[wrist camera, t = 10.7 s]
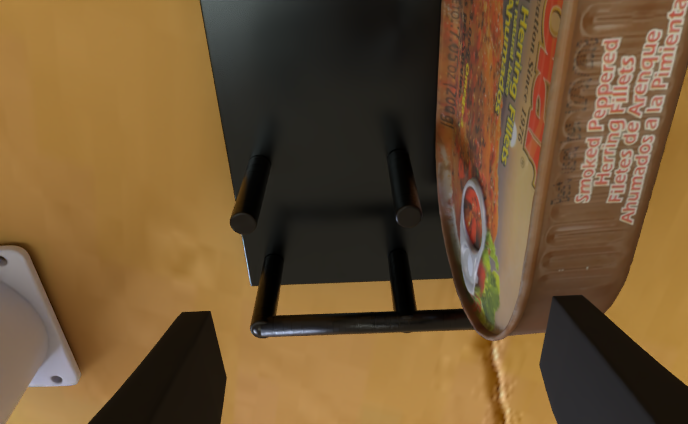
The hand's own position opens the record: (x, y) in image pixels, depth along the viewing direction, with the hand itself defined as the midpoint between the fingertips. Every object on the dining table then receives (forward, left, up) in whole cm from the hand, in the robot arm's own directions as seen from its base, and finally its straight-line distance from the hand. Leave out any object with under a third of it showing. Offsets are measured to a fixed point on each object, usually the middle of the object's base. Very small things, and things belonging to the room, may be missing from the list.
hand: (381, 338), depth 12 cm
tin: (+4, +5, -9) cm, 11 cm away
